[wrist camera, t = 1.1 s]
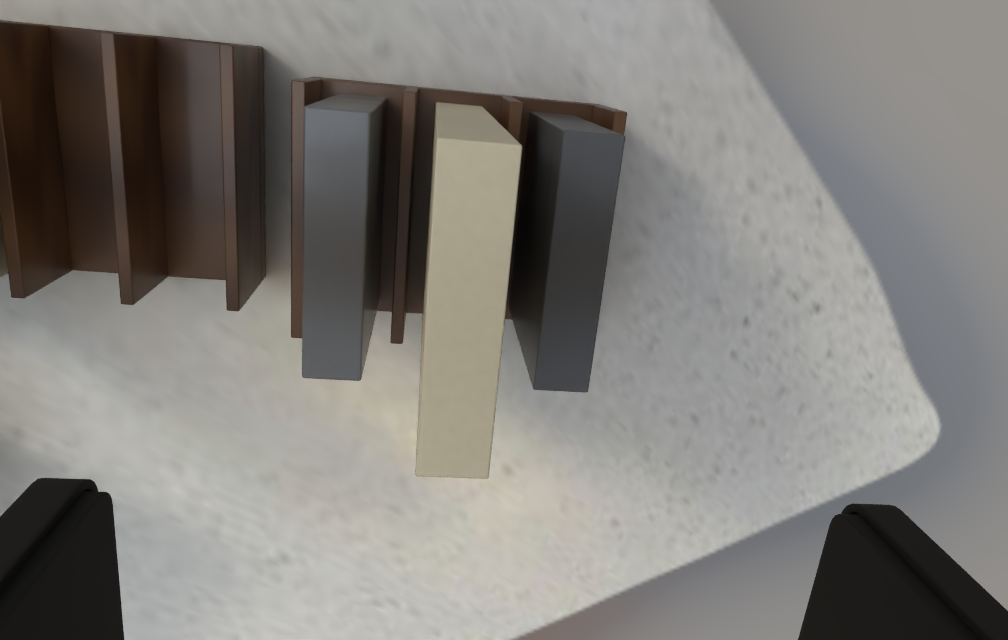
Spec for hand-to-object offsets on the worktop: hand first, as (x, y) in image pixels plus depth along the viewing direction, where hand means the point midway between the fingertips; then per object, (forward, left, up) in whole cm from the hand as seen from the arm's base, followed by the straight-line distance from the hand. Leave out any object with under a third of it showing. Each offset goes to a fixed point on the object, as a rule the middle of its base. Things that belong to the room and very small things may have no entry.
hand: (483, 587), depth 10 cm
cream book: (0, 0, -25) cm, 25 cm away
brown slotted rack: (0, 0, -26) cm, 26 cm away
